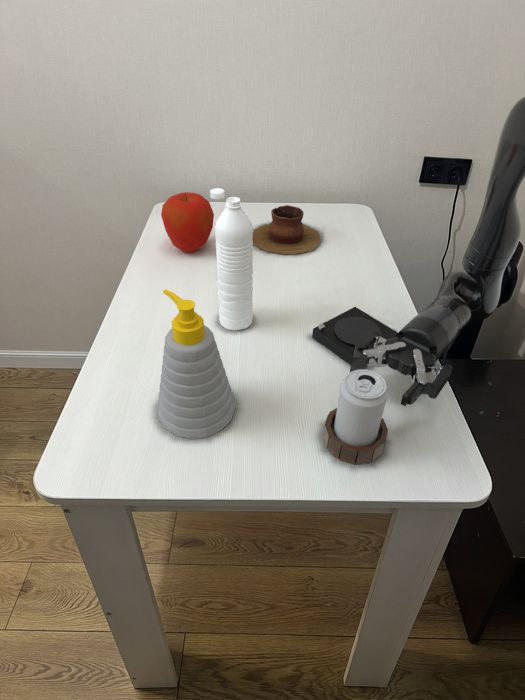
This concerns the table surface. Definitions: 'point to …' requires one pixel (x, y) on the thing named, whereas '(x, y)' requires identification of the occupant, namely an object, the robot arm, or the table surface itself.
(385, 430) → the can holder
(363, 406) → the beverage can
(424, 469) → the table surface
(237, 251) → the water bottle
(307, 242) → the ceramic pot
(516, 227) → the robot arm
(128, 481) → the table surface
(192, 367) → the soap bottle
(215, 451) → the table surface
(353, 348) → the hot plate
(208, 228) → the apple
